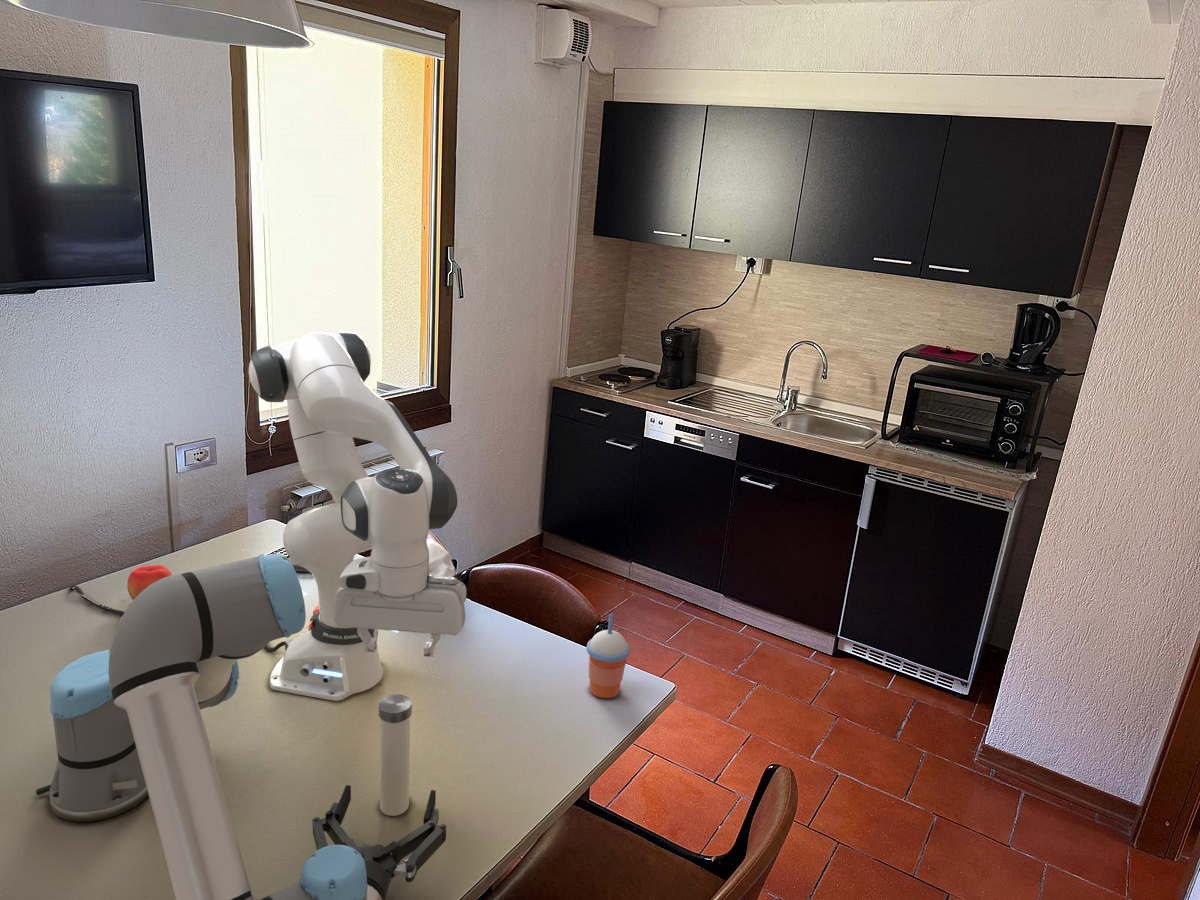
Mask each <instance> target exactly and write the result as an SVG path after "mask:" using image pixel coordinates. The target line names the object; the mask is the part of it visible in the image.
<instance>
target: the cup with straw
mask: <svg viewBox="0 0 1200 900" xmlns="http://www.w3.org/2000/svg"><path fill="white" fill-rule="evenodd" d="M613 623H614V614H613V613H609V614H608V624H607V629H604V630H603V629H602V630H600V631H599V632H597V633H596V634H594V635H593V637H592V638H591V639H589V640H588V642H587V644H586V652H587V654H588V678H589V690H590V693H592V695H594V696H595V697H598V698H601V699H611V698H614V697H616V696H617V695H618V694H619V691H620V688H621V684H622V681H623V678H624V674H625V673H624V672H625V669H626V664H627V663H626V662H627V660H626V659H627V658H628V657H629V656H630V653H631V647H630V645H629V643H628V642H627V640H626V639H625V637H624V636H623V635H622V634H621V633H620V632H618V631H616V630H613V626H614V624H613Z"/></svg>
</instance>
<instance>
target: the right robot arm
mask: <svg viewBox="0 0 1200 900" xmlns="http://www.w3.org/2000/svg"><path fill="white" fill-rule="evenodd" d="M371 359H372V357H371V353H370V351H369V348H368V346H367V344H366V343H365V341H364V339H363V338H362V336H360V335H359V334H358V333H357V332H351V331H338V332H337V333H328V332H323V331H315V332H308V333H306V334H304V335H302V336H301V337H299V338H298V339H293V340H289V341H286V342H283V343H278V344H276V345H272V346H271V345H267V346H263V347H261V348H259V349H257V350H255V351H253V353H252V355H251V356H250V357H249V363H248V378H249V382H250V384H251V386H252V388H253V390H254V391H255V393H256V394H258V397H259V398H260V399H261V400H263V401H264V402H266V403H284V401H286V404H287V415H288V416H287V417H288V422H289V428H290V433H291V437H292V442H293V445H294V449H295V452H296V456H297V461H298V464H299V467H300V471H301V474H302V477H303V478H304V479H305V480H306V481H307V482H309V483H311V484H312V485H315V486H319V487H323V488H324V489H325V490H327V492H328V493H330V495H331V496H332V498H333V501H334V503H330V504H327V505H323V506H319V507H314V508H311V509H309V510H307V511H304V512H303V513H301V514H299V515H297V516H295V517H293V518H292V519H290V520H289V521H287V524H285V528H284V531H283V535H282V543H283V547H284V549H285V550H284V551H285V553H286V555H288V556H289V557H290V558H291V559H292V560H293V561H294V562H295V563H296V564H298V565H300V566H302V567H304V568H306V569H307V570H309V571H310V572H309V573H311V575H312V576H313V578H314V580H315V583H316V587H317V593H318V594H317V595H318V605H316V607H314V610H313V611H312V615H311V617H310V619H309V623H308V625H307V628H308V629H307V630H306V631H304V632H302V633H301V634H299V635H297V636H296V637H295V638H292V639H289V640H283V641H281V642H279V643H277V644H276V645H275V646H273V647H270V646H269V645H268V644H267V645H266V646H265V647H264V648H263V649H264V650H265V651H267V652H270V653H273V652H276V651H278V650H279V649H280V648H282V647H284V654H283V656H282V657H281V659H280V660H279V661H278V662H277V663H276V664H275V666H274V667H273V669H272V670H271V673H270V676H269V686H270V688H271V689H272V690H274V691H278V692H283V693H289V694H295V695H300V696H304V697H305V696H306V697H310V698H315V699H316V698H317V699H322V700H327V701H334V702H339V701H340V702H341V701H342V700H344V699H346V698H348V697H350V696H351V695H355V694H358V693H363V692H364V691H367V690H369V689H371V688H373V687H374V686H377V685H378V684H379V682H380V681H382V680H383V677H384V668H383V666H382V662H381V658H380V654H379V649H378V637H379V631H380V630H381V631H391V632H394V633H399V632H405V633H418V634H429V635H430V639H431V640H432V641H431V642H430V641H426V642H425V645H424V646H423V657H425V658H426V657H427V658H434V656H435V654H436V646H437V644H438V643H439V641H440V640H441V637H442V635H444V636H458V635H459V634H460V633H461V632H462V631H463V629H464V626H465V624H466V611H465V610H466V609H465V602H466V600H467V586H466V585H465V583H464V582H463V581H461V580H459V579H458V577H455V576H453V577H441V576H432V575H429V550H428V547H427V538H428V535H429V532H430V530H437V529H443V528H444V527H445V525H446V524H447V523H448V522H449V521H450V520H451V519H452V517H453V515H454V513H455V511H456V509H457V507H458V495H457V494H458V493H457V490H456V487H455V485H454V482H453V480H452V479H451V478H450V477H449V475H448V474H446V473H447V472H445V471H444V470H443V469H442V468H441V467H440V466H439V465H438V464H437V463H436V462H435V461H434V459H433V457H432V456H431V455H430V453H429V452H428V451H427V449H426V447H425V446H424V445H423V443H422V441H420V439H419V438H418V436H417V434H416V433H415V432H414V431H413V429H412V427H411V426H410V424H409V423H408V421H407V420H406V419H405V416H403V414H402V413H401V412H400V410H399V409H398V408H397V407H396V406H395V405H394V403H392V402H390V401H389V400H386V399H384V398H383V397H381V396H380V395H378V394H377V393H375V391H374V390H372V389H371V388H370V387H369V386H368V385H367V384H366V383H365V382H366V380H367V379H368V377H369V376H370V374H371V364H372V360H371ZM354 439H359V440H366V441H369V442H373V443H375V444H378V445H380V446H382V447H384V448H385V449H386V450H387V451H388V452H389V453H390V455H391V456H392V458H393V459H394V460H395V463H396V464H397V466H398V467H391V468H386V469H383V470H380V471H379V472H377V473H376V474H375V475H374V476H370V475H369V474H368V473H367V471H366V469H365V468H364V466H363V464H362V461H361V459H360V456H359V454H358V450H357V448H356V444H355V441H354ZM370 550H371V552H370V556H365V557H361V558H356V559H354V558H355V557H356V555H358V554H360V553H364V552H366V551H370ZM73 587H75V588H74V589H72V588H73ZM74 590H75V592H77V593H78V595H79V596H80V597H81V598H82V599H83V600H84V601H86V602H87V603H89V604H90V605H92V606H94V607H95V608H98V609H101V610H103V611H106V612H108V613H112V614H114V615H115V614H116V615H120V616H123V614H124V613H125V611H124V610H120V609H116V608H113V609H112V607H110V606H107V605H104V606H103V607H102V605H103V604H102V603H99V604H100V605H97V604H95V603H93V602H92V601H90V600H88V599H87V598H85V597H83V596H81V595H80V594H82V595H84V594H85V593H84V592H83V589H81V588H80V587H79V586H78V585H71V586H70V587H69V588H68V591H74ZM79 593H80V594H79ZM101 604H102V605H101ZM106 606H107V607H106ZM109 607H110V608H109ZM108 608H109V609H108ZM115 609H116V610H115Z"/></svg>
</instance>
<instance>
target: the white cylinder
mask: <svg viewBox="0 0 1200 900" xmlns="http://www.w3.org/2000/svg"><path fill="white" fill-rule="evenodd" d="M379 725H380V726H379V730H380V731H379V739H380V740H379V757H380V758H379V781H380V782H379V797H380V798H379V809H380V811H381V812H382V813H383V814H384V815H386V816H391V817H394V816H395V817H396V816H400V815H402V814H404V813H405V812H407V810H408V809H409V805H410V748H411V747H410V746H411V745H410V741H411V740H410V738H411V737H410V736H411V735H410V734H411V733H410V732H411V716H410V717H409V718H408V719H406V720H404V721H402V722H397V723H389V722H385V721H383V720H382V719H380V718H379Z"/></svg>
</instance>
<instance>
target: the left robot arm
mask: <svg viewBox="0 0 1200 900" xmlns="http://www.w3.org/2000/svg"><path fill="white" fill-rule="evenodd" d="M284 555H285V554H283V553H278V552H275V553H269V554H261V553H260V554H258V556H254V557H250V558H245V559H241V560H236V561H232V562H228V563H223V564H219V565H214V566H210V567H206V568H201V569H196V570H191V571H188V572H184V573H177V574H172V575H171V576H168V577H165V578H162V579H160V580H158V581H156V582H154V583H153V584H151V585H150V586H148V587H147V588H146V589H144V590H143V591H142V592H141V593H140V594H139V595H138V596H137V597H136V598H135V599H134V600H133V599H132V601H131V602H130V603H129V605H128V606H127V608H126V609H125V611H124V612H125V613H124V614H123V615H121V617H122V618H121V617H120V620H119V622H118V625H117V626H116V628H115V632H114V634H113V638H112V641H111V644H110V645H111V646H110V650H102V651H101V650H100V651H97V652H93V653H89V654H86V655H84V656H81V657H80V658H77V659H76V660H73V661H71V662H70V663H69V664H67V665H66V666H65V667H63V668H62V669H61V670H60V672H58V673H57V674H56V676H54V678H53V679H52V682H51V685H50V689H49V690H50V691H49V692H50V705H49V711H50V714H51V716H52V720H53V727H54V735H55V737H54V738H55V745H56V746H55V747H56V752H57V763H56V766H55V770H54V773H53V777H52V780H51V784H48V785H45V786H42V787H40V788H36V790H35V794H36V796H40V795H43V794H45V793H48V797H49V806H50V809H51V811H52V812H53V813H54V814H55V815H56V816H57V817H59V818H60V819H63V820H65V821H69V822H75V823H76V822H77V823H90V822H97V821H102V820H107V819H110V818H113V817H117V816H119V815H122V814H123V813H125V812H127V811H129V810H132V809H133V808H135V807H136V806H137V805H139V804H140V803H142V802H143V801H144V800H145V799H146V798H147V797H149V802H150V806H151V809H152V813H153V817H154V820H155V821H154V822H155V824H156V825H155V826H156V829H157V832H158V837H159V840H160V844H161V847H162V851H163V855H164V859H165V863H166V867H167V870H168V871H167V872H168V875H169V878H170V882H171V886H172V890H173V893H174V897H175V900H254V897H253V894H252V888H251V885H250V881H249V879H248V878H249V877H248V875H247V870H246V867H245V864H244V860H243V856H242V852H241V850H240V846H239V841H238V839H237V835H236V832H235V829H234V825H233V821H232V818H231V814H230V811H229V808H228V803H227V799H226V797H225V793H224V789H223V787H222V786H223V785H222V782H221V779H220V776H219V772H218V769H217V765H216V761H215V758H214V755H213V754H214V753H213V751H212V747H211V743H210V740H209V736H208V733H207V730H206V727H205V723H204V719H203V716H202V712H201V710H203V709H207V708H212V707H216V706H219V705H220V704H222V703H224V702H227V700H230V699H231V698H232V697H233V696H234V695H235V694H236V692H237V689H238V686H239V682H238V680H239V679H240V667H239V663H238V662H239V661H238V660H243V659H246V658H249V657H252V656H254V655H255V654H257V653H259V652H260V651H262V650H263V649H265V648H264V647H265V646H266V645H268V644H270V643H271V642H272V641H273V642H274V641H276V640H280V639H283V638H287V639H289V638H290V637H291V636H293V635H295V634H298V633H300V632H302V631H303V630H304V627H305V626H306V625H305V624H306V619H307V616H306V614H307V612H306V604H305V598H304V593H303V590H302V586H301V583H300V579H299V577H298V573H297V571H295V569H294V567H293V565H292V563H291V562H290V561H289V559H288V558H287V557H286V556H284ZM436 793H437V792H436V789H430V793H429V797H428V800H427V805H426V808H425V811H424V815H423V823H422V825H420V826H419V827H418V828H416V829H414V830H413V831H411V832H410V833H408V834H407V835H404V836H403V837H402V838H400V839H399V840H397V841H396V840H393V841H391V842H390V843H388V844H386V845H385V846H384V844H374V845H372V844H369V843H362V844H361V845H358V844H357V843H356V840H354V838H351V837H350V836H349V835H348V833H347V832H346V831H345V829H344V828H343V827H342V825H343V821H344V819H345V816H346V814H347V811H348V808H349V806H350V803H351V801H352V786H351V784H350V785H348V784H346V785H345V787H344V789H343V791H342V794H341V797H340V799H339V801H338V802H333V803H332V804H331V806H330V808H329V810H327V811H326V812H325V813H324V814H325V817H324V818H320V817H319V816H315V817H313V818H312V819H311V824H312V825H311V826H312V827H311V828H312V836H313V837H312V838H313V840H314V844H315V849H316V850H315V851H314V852H313V853H312V854H311V856H310V857H309V858H307V859H306V860H305V862H304V864H303V866H302V870H301V874H300V877H299V878H300V879H299V880H298V881H296V882H294V883H292V884H290V885H287V886H285V887H283V888H281V889H279V890H277V891H275V892H273V893H271V894H269V895H266V896H264V897H263V898H260V899H259V900H386V899H387V895H388V891H389V888H390V884H391V881H392V880H393V879H394V877H396V876H397V877H398V876H399V877H405V882H406V883H412V882H414V880H415V878H416V875H417V873H418V871H419V870H420V869H421V868H422V867H423V866H424V864H426V863H427V861H429V860H430V858H431V857H432V856H433V855H434V854H435V853H436V851H437V850H438V849H439V848H441V846H443V845H444V843H445V842H446V841H447V825H446V824H444V823H440V824H438V822H439V819H440V818H439V817H440V810H439V808H436V799H437V798H436V797H437V794H436ZM325 833H326V834H327V836H328V837H329V839H331V842H332V843H333V844H330V845H329V843H328V841H327V837H326V834H325ZM407 856H409V857H407ZM403 859H404V861H403V862H402V863H401V864H400V862H401V860H403Z"/></svg>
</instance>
